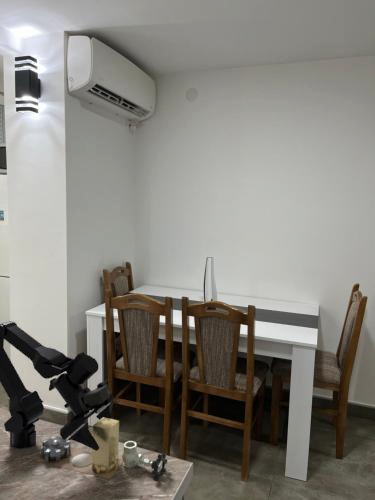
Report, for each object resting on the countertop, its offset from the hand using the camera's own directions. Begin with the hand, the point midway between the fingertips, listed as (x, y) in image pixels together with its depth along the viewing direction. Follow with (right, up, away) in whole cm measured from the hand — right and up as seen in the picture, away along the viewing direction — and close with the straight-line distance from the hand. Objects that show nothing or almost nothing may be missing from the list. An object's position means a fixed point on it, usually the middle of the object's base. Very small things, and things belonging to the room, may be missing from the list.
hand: (107, 440), depth 104 cm
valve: (+9, -9, +1) cm, 13 cm away
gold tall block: (-1, -7, +1) cm, 7 cm away
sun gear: (-16, -6, +5) cm, 18 cm away
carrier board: (-9, -8, +3) cm, 12 cm away
